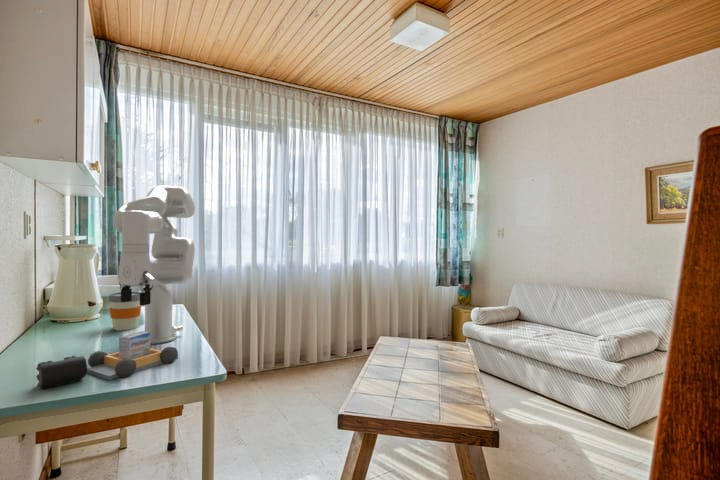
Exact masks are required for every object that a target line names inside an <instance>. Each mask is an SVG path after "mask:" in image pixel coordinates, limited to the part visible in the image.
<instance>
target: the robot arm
mask: <svg viewBox="0 0 720 480" xmlns="http://www.w3.org/2000/svg"><path fill="white" fill-rule="evenodd" d="M195 208H196V206H195V202H194V199H193V198H192V196H191V193H190V191H189V190H188V189H186V188H185V187H184V186H172V185H171V186H170V185H157V186H155V187H152V188H151V189H150V191H149V192H148V193H147V195H145V197H143V198H139V199H136V200H132V201H129V202H126V203H124V204H122V205H121V206H120V207H119V208H118V209H117V211H116V212H115V214H114V216H113V219H112V225H113V228H114V229H115V231H116V232H118V233H121V254H120V259H119V266H118V267H119V268H118V274H117V278H118V284H119V289H120V290H119V291H120V292H121V302H128V301H131V300H132V292H133V291H132V290H133V289H132V288H131V287H137V286H138V288H139V290H140V305H141V306H145V307H144V332H150V344H151V345H157V344H163V343H168V342H172V341H174V340H176V338H177V335H176V332H181V331H183V329H184V328H183V325H179V326H175V325H173V293H172V291H171V290H170V288H169V287H168V286H167V285H171V284H172V285H173V284H174V285H181V284H182V285H183V284H187V283H189V282H190V281H191V279H192V276H193V269H194V262H195V261H194V259H195V251H196V250H195V243H194V241H193V240H192V239H191V238H189V237H178V232H179V230H178V228H177V226H176V225H175V224H174V223H173V222H172V220H170V219H169V218H176V219H177V218H179V219H181V218H183V219H188V218H191V217H193V216H194V214H195ZM151 234H152V235H153V234H154V235H153V240H152V245H151V256H152V258H153V259H152V260H151V258H150V235H151Z"/></svg>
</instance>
